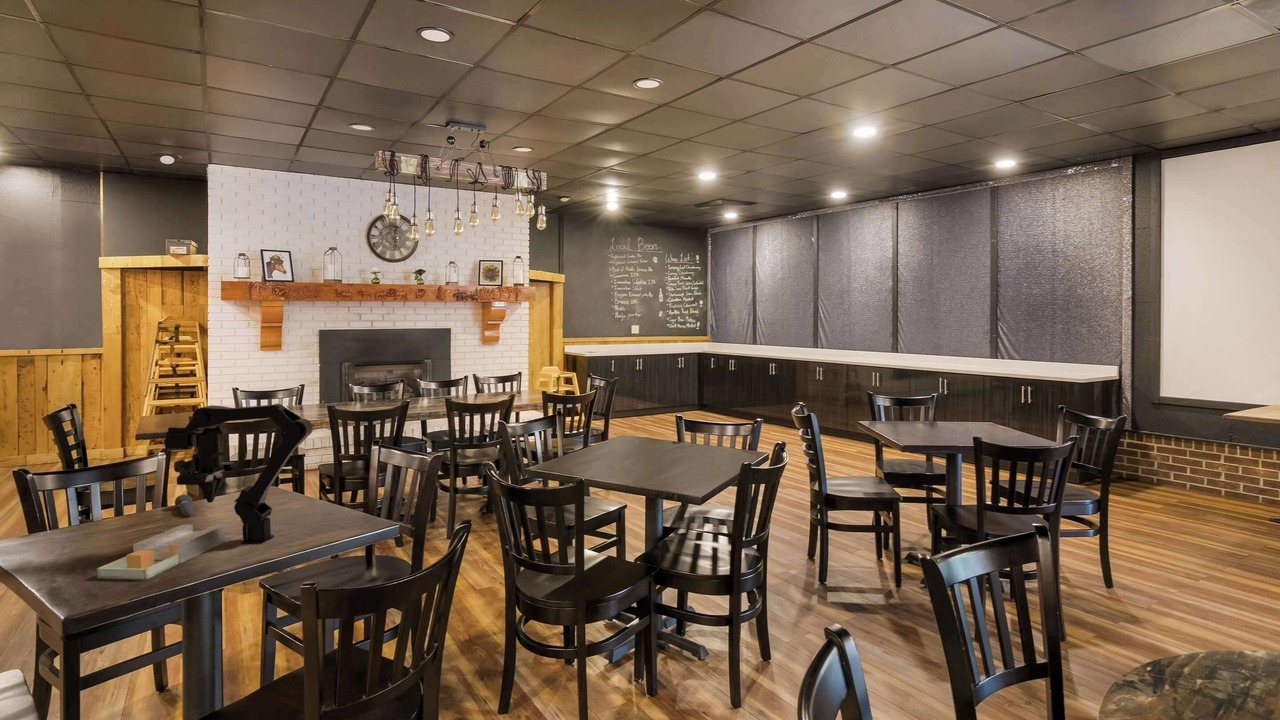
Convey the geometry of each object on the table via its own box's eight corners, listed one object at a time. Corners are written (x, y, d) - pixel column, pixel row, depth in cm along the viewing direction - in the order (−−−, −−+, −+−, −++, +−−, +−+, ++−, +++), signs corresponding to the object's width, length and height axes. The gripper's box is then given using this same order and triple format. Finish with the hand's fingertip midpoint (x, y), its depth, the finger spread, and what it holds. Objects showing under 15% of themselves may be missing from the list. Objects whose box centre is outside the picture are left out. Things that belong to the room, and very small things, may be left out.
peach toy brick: (153, 550, 178) (140, 555, 174) (154, 565, 178) (141, 570, 174) (139, 549, 178) (126, 555, 174) (140, 564, 179) (127, 570, 175)
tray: (178, 564, 181) (178, 554, 181) (146, 579, 170) (145, 569, 170) (132, 563, 182) (132, 553, 182) (97, 578, 171) (96, 568, 171)
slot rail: (225, 541, 199) (225, 525, 199) (180, 563, 181) (179, 544, 181) (183, 541, 200) (182, 524, 200) (134, 562, 182) (133, 544, 182)
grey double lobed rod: (202, 515, 228) (202, 501, 228) (185, 518, 224) (184, 503, 224) (188, 505, 242) (188, 491, 241) (172, 507, 238) (171, 493, 238)
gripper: (204, 443, 207) (206, 494, 208) (157, 455, 188) (159, 510, 189) (239, 443, 206) (241, 494, 207) (195, 455, 187) (197, 511, 188)
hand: (210, 502), depth 198 cm, fingers closed
